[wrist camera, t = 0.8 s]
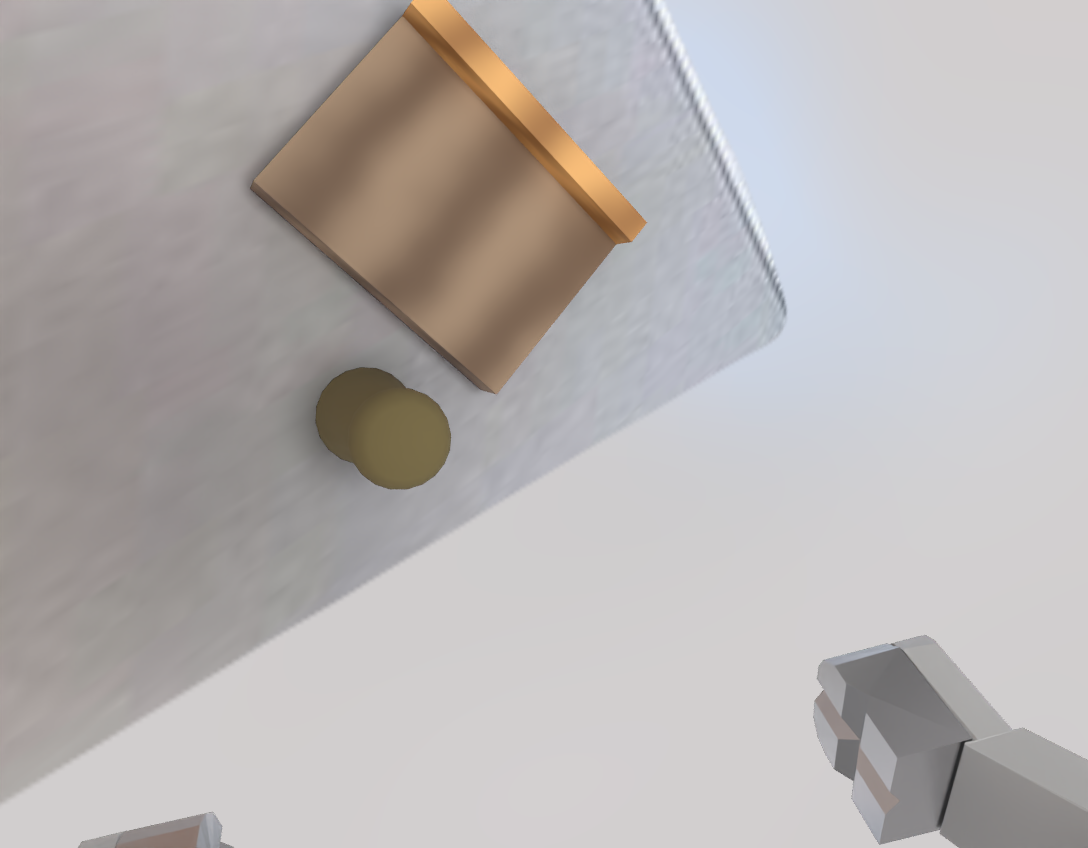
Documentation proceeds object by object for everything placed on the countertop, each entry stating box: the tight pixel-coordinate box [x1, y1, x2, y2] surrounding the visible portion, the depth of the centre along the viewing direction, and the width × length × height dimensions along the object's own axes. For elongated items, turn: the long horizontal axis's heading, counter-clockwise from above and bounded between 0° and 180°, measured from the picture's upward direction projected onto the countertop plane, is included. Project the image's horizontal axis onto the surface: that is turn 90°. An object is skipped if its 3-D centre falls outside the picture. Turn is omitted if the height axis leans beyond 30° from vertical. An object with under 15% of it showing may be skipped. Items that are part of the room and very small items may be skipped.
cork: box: [316, 367, 451, 489], centre depth 44 cm, size 6×6×11 cm
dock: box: [250, 0, 647, 394], centre depth 47 cm, size 18×14×5 cm
